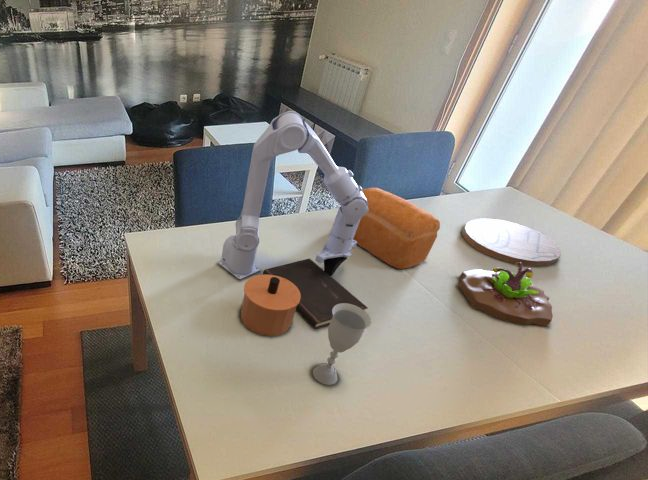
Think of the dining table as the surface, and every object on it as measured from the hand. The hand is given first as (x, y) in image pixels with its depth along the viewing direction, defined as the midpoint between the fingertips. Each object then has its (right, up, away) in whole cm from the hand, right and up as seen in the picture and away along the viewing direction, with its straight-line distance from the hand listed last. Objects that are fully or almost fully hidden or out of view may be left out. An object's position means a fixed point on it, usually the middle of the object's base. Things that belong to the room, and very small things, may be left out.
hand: (327, 274), depth 114 cm
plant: (+44, -7, -7) cm, 45 cm away
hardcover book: (-7, -5, -5) cm, 10 cm away
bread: (+22, +10, +14) cm, 28 cm away
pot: (-21, -11, -12) cm, 27 cm away
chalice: (-12, -23, -26) cm, 37 cm away
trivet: (+64, +10, +15) cm, 67 cm away
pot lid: (-21, -5, -18) cm, 28 cm away
